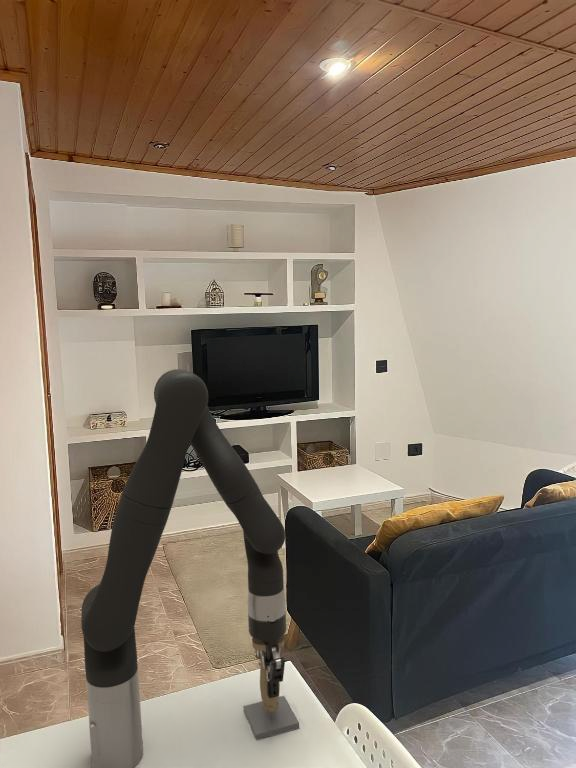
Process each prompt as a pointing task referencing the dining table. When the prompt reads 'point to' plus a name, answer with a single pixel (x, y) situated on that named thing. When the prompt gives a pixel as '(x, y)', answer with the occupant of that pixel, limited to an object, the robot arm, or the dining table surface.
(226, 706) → the dining table surface
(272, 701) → the handle
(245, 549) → the robot arm
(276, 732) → the plate
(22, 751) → the dining table surface
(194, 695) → the dining table surface
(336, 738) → the dining table surface
